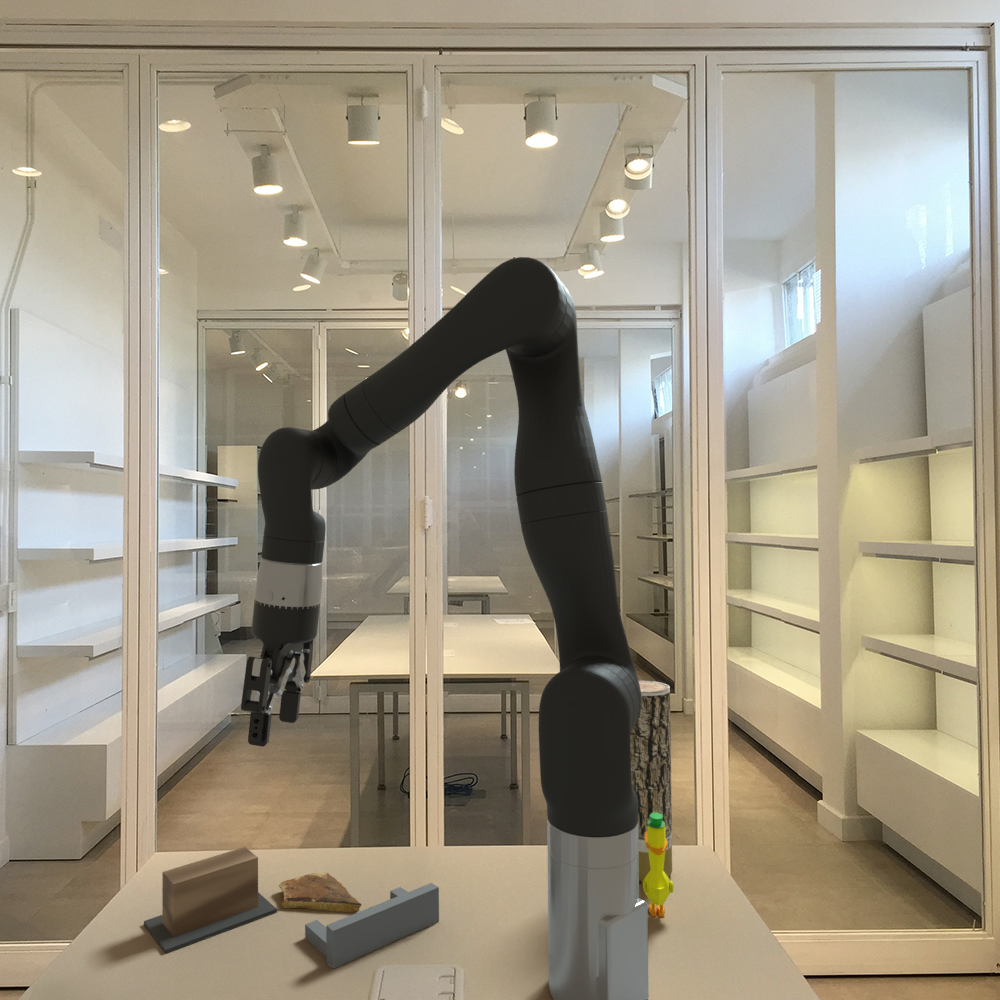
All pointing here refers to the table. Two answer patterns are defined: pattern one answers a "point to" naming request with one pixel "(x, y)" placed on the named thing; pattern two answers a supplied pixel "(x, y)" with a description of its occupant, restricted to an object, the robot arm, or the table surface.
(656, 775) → the bark log stump
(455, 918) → the table surface
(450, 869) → the table surface
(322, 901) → the shard
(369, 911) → the dock
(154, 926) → the rest mat
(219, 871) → the block
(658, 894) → the toy figure
